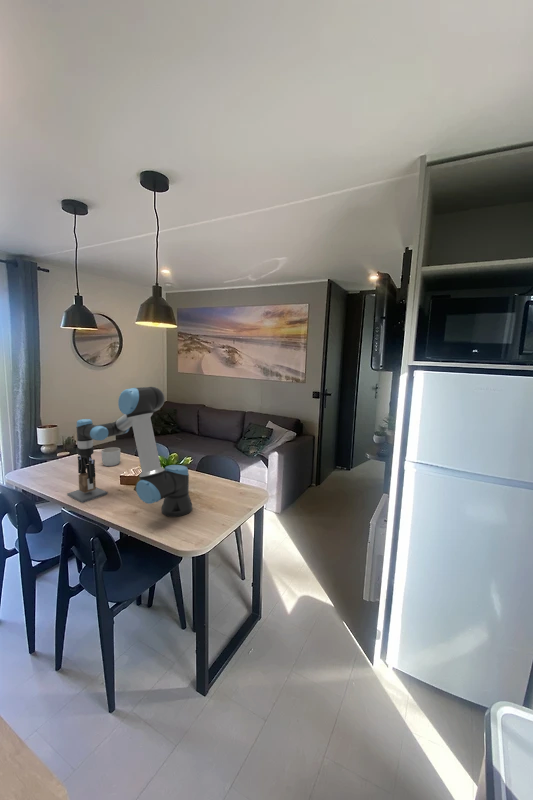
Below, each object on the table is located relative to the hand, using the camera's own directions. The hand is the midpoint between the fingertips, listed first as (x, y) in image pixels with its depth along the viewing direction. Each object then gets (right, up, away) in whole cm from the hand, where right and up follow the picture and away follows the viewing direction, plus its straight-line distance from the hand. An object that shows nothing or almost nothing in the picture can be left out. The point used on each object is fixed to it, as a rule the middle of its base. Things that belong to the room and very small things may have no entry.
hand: (87, 487), depth 179 cm
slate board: (0, -4, +1) cm, 4 cm away
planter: (-12, +2, +52) cm, 53 cm away
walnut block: (0, -1, 0) cm, 1 cm away
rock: (+25, -4, +13) cm, 28 cm away
